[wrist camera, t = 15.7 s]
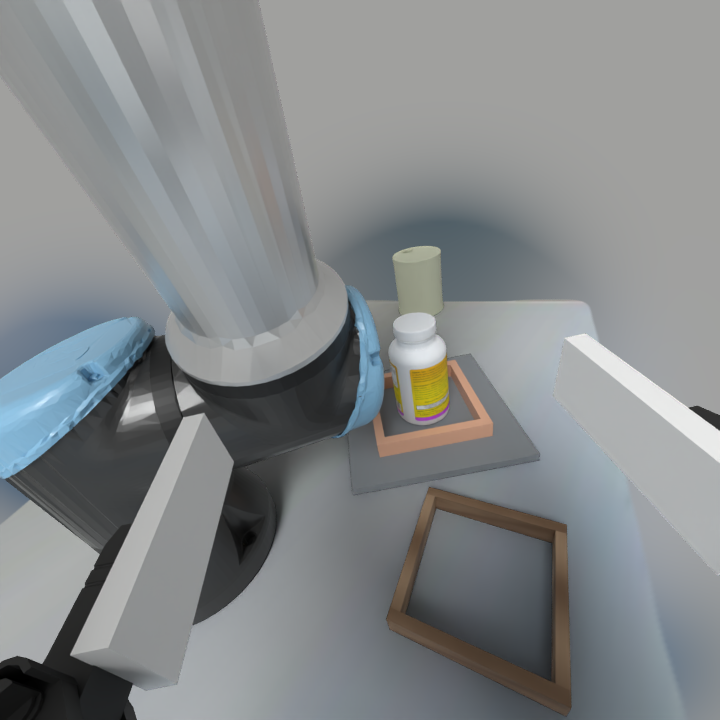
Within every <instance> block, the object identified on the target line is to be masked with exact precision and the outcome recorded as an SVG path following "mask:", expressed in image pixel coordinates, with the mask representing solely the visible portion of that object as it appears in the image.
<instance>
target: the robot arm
mask: <svg viewBox="0 0 720 720" xmlns="http://www.w3.org/2000/svg"><path fill="white" fill-rule="evenodd" d="M0 77H1V78H2V80H3V81H4V83H5V84H6V85H7V87H8V88H9V89H10V91H11V92H12V93H13V95H14V96H15V98H16V99H17V100H18V102H19V103H20V104H21V106H22V107H23V109H24V110H25V111H26V113H27V114H28V115H29V117H30V118H31V120H32V121H33V122H34V123H35V125H36V126H37V128H38V129H39V130H40V132H41V133H42V135H43V136H44V137H45V139H46V140H47V141H48V143H49V144H50V145H51V147H52V148H53V150H54V151H55V152H56V154H57V155H58V156H59V158H60V159H61V160H62V162H63V163H64V165H65V166H66V167H67V169H68V170H69V171H70V173H71V174H72V176H73V177H74V178H75V180H76V181H77V182H78V184H79V185H80V186H81V188H82V189H83V190H84V192H85V193H86V195H87V196H88V197H89V199H90V200H91V201H92V203H93V204H94V206H95V207H96V208H97V210H98V211H99V212H100V214H101V215H102V216H103V218H104V219H105V221H106V222H107V223H108V224H109V226H110V227H111V229H112V230H113V232H114V233H115V234H116V236H117V237H118V238H119V240H120V241H121V242H122V244H123V245H124V247H125V248H126V249H127V251H128V252H129V253H130V255H131V256H132V258H133V259H134V260H135V261H136V263H137V264H138V266H139V267H140V268H141V270H142V271H143V273H144V274H145V275H146V277H147V278H148V279H149V281H150V282H151V283H152V285H153V286H154V287H155V289H156V290H157V292H158V293H159V294H160V296H161V297H162V298H163V300H164V301H165V303H166V304H167V305H168V307H169V308H170V309H171V313H170V315H169V317H168V320H167V324H166V329H165V335H162V336H155V330H154V328H153V327H152V326H151V325H149V324H148V323H147V322H145V321H144V320H143V319H141V318H138V317H130V318H125V317H124V318H120V319H115V320H112V321H108V322H106V323H103V324H100V325H97V326H95V327H92V328H90V329H87V330H85V331H83V332H81V333H79V334H76V335H74V336H72V337H70V338H68V339H66V340H64V341H62V342H60V343H58V344H56V345H54V346H52V347H51V348H49V349H47V350H45V351H43V352H42V353H40V354H38V355H37V356H35V357H33V358H32V359H30V360H28V361H27V362H25V363H23V364H22V365H20V366H19V367H17V368H16V369H14V370H13V371H11V372H10V373H8V374H7V375H6V376H4V377H3V378H1V379H0V477H1V478H3V479H5V480H6V481H7V482H9V483H10V484H11V485H12V486H14V487H15V488H17V490H19V491H20V492H21V493H23V494H24V495H25V496H26V497H28V498H29V499H30V500H32V501H33V502H34V503H35V504H37V505H38V506H39V507H41V508H42V509H43V510H44V511H46V512H47V513H48V514H49V515H51V516H52V517H53V518H55V519H56V520H57V521H58V522H60V523H61V524H62V525H64V526H65V527H66V528H67V529H69V530H70V531H71V532H73V533H74V534H75V535H76V536H78V537H79V538H80V539H81V540H83V541H84V542H85V543H87V544H88V545H89V546H91V547H92V548H93V549H94V550H95V551H97V552H98V553H99V554H100V555H99V557H98V559H97V561H96V563H95V565H94V570H92V571H91V573H90V575H89V577H88V578H87V580H86V582H85V587H84V588H82V590H81V592H80V594H79V596H78V598H77V600H76V602H75V603H74V605H73V607H72V609H71V611H70V613H69V615H68V617H67V619H66V621H65V623H64V625H63V627H62V628H61V630H60V632H59V634H58V636H57V638H56V640H55V642H54V644H53V646H52V648H51V650H50V652H49V653H48V655H47V657H46V659H45V661H44V662H43V664H40V663H37V662H35V661H33V660H30V659H28V658H24V657H20V656H16V657H13V658H10V659H7V660H4V661H2V662H1V663H0V720H137V719H136V715H135V712H134V709H133V706H132V705H131V703H130V702H129V700H128V697H129V694H130V691H131V688H132V685H135V686H137V687H139V688H142V689H144V690H146V691H147V690H152V689H157V688H162V687H167V686H172V685H177V683H178V679H179V675H180V671H181V668H182V664H183V660H184V656H185V652H186V648H187V644H188V640H189V636H190V632H191V628H192V625H194V624H197V623H199V622H201V621H203V620H205V619H207V618H209V617H210V616H212V615H214V614H215V613H217V612H218V611H220V610H221V609H222V608H224V607H225V606H226V605H228V604H229V603H230V602H231V601H232V600H233V599H235V598H236V597H237V596H238V595H239V594H240V593H241V592H242V591H243V589H244V588H245V587H246V586H247V585H248V584H249V583H250V581H251V580H252V579H253V577H254V576H255V575H256V573H257V572H258V570H259V569H260V567H261V565H262V564H263V562H264V560H265V558H266V556H267V554H268V552H269V550H270V547H271V544H272V541H273V538H274V534H275V529H276V508H275V504H274V501H273V499H272V497H271V495H270V493H269V491H268V490H267V488H266V486H265V484H264V483H263V482H262V480H261V479H260V478H259V477H258V476H257V475H256V474H254V473H253V472H251V471H250V470H248V469H247V468H245V467H244V466H247V465H250V464H253V463H256V462H259V461H262V460H265V459H268V458H271V457H274V456H277V455H280V454H283V453H286V452H289V451H292V450H295V449H298V448H301V447H304V446H307V445H310V444H313V443H316V442H319V441H322V440H325V439H328V438H339V437H342V436H344V435H345V434H346V433H348V432H349V431H350V430H353V429H355V428H358V427H360V426H363V425H366V424H368V423H369V422H371V421H372V420H373V419H374V418H375V417H376V416H377V414H378V413H379V411H380V409H381V406H382V402H383V397H384V368H383V363H382V361H381V359H380V357H379V351H380V344H379V338H378V334H377V330H376V327H375V323H374V320H373V317H372V315H371V312H370V310H369V308H368V305H367V303H366V301H365V299H364V298H363V296H362V294H361V293H360V292H359V291H358V290H357V289H356V288H354V287H352V286H348V285H344V283H343V281H342V279H341V277H340V276H339V275H338V274H337V273H336V272H335V271H334V270H333V269H332V268H331V267H330V266H328V265H327V264H325V263H323V262H321V261H319V260H317V259H316V258H315V253H314V249H313V245H312V240H311V235H310V231H309V226H308V222H307V218H306V213H305V208H304V204H303V199H302V195H301V190H300V185H299V181H298V176H297V172H296V168H295V163H294V158H293V154H292V149H291V145H290V141H289V136H288V132H287V127H286V122H285V118H284V113H283V109H282V104H281V100H280V95H279V90H278V86H277V82H276V77H275V73H274V68H273V63H272V59H271V54H270V50H269V45H268V41H267V36H266V32H265V27H264V23H263V18H262V14H261V9H260V5H259V0H0ZM553 397H554V398H555V399H556V400H557V401H558V402H559V403H560V405H561V406H562V407H563V408H564V409H565V410H566V411H567V412H568V413H569V414H570V415H571V417H572V418H573V419H574V420H575V421H576V422H577V423H578V424H579V425H580V426H581V427H582V429H583V430H584V431H585V432H586V433H587V434H588V435H589V436H590V437H591V438H592V439H593V441H594V442H595V443H596V444H597V445H598V446H599V447H600V448H601V449H602V450H603V452H604V453H605V454H606V455H607V456H608V457H609V458H610V459H611V460H612V461H613V462H614V464H615V465H616V466H617V467H618V468H619V469H620V470H621V471H622V472H623V473H624V474H625V476H626V477H627V478H628V479H629V480H630V481H631V482H632V483H633V484H634V485H635V486H636V488H637V489H638V490H639V491H640V492H641V493H642V494H643V495H644V496H645V497H646V499H647V500H648V501H649V502H650V503H651V504H652V505H653V506H654V507H655V508H656V509H657V511H658V512H659V513H660V514H661V515H662V516H663V517H664V518H665V519H666V520H667V521H668V522H669V524H670V525H671V526H672V527H673V528H674V529H675V530H676V531H677V532H678V534H680V536H681V537H682V538H683V539H684V540H685V541H686V542H687V543H688V544H689V546H690V547H691V548H692V549H693V550H694V551H695V552H696V553H697V554H698V555H699V556H700V558H701V559H702V560H703V561H704V562H705V563H706V564H707V565H708V566H709V567H710V568H711V570H713V572H714V573H715V574H716V575H717V576H719V575H720V415H718V414H715V413H713V412H711V411H709V410H706V409H704V408H702V407H699V406H694V407H690V408H688V407H686V406H685V405H683V404H682V403H681V402H679V401H678V400H677V399H675V398H674V397H672V396H671V395H670V394H668V393H667V392H666V391H664V390H663V389H661V388H660V387H659V386H657V385H656V384H655V383H653V382H652V381H650V380H649V379H648V378H646V377H645V376H644V375H642V374H641V373H639V372H638V371H637V370H635V369H634V368H632V367H631V366H630V365H628V364H627V363H626V362H624V361H623V360H621V359H620V358H619V357H617V356H616V355H615V354H613V353H612V352H610V351H609V350H608V349H606V348H605V347H603V346H602V345H601V344H599V343H598V342H597V341H595V340H594V339H593V338H591V337H590V336H588V335H587V334H586V333H585V334H581V335H576V336H571V337H566V338H564V342H563V347H562V352H561V357H560V362H559V367H558V372H557V377H556V382H555V387H554V392H553Z"/></svg>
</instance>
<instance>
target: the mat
mask: <svg viewBox="0 0 720 720" xmlns="http://www.w3.org/2000/svg"><path fill="white" fill-rule="evenodd" d="M451 360H456V362H457V364H458V365H459V367H460V369H461V370H462V372H463V374H464V375H465V377H466V379H467V380H468V382H469V384H470V385H471V387H472V389H473V390H474V392H475V394H476V395H477V397H478V399H479V400H480V402H481V404H482V405H483V407H484V409H485V410H486V412H487V414H488V415H489V417H490V419H491V420H492V422H493V436H489V437H484V438H479V439H473V440H468V441H463V442H458V443H453V444H447V445H442V446H437V447H432V448H426V449H421V450H416V451H411V452H405V453H400V454H395V455H390V456H384V457H380V456H379V452H378V447H377V442H376V436H375V430H374V424H373V420H372V421H371V422H369V423H368V424H366V425H363V426H360V427H358V428H355V429H353V430H350V431H349V432H348V445H349V459H350V473H351V487H352V492H353V495H357V494H362V493H368V492H373V491H378V490H384V489H389V488H394V487H400V486H405V485H410V484H416V483H421V482H426V481H432V480H437V479H442V478H448V477H453V476H458V475H464V474H469V473H474V472H480V471H485V470H490V469H495V468H501V467H506V466H511V465H517V464H522V463H527V462H533V461H538V460H539V457H540V453H539V452H538V450H537V449H536V448H535V446H534V445H533V443H532V442H531V440H530V439H529V437H528V436H527V435H526V433H525V432H524V430H523V429H522V427H521V426H520V424H519V423H518V422H517V420H516V419H515V417H514V416H513V414H512V413H511V411H510V410H509V409H508V407H507V406H506V404H505V403H504V401H503V400H502V398H501V397H500V396H499V394H498V393H497V391H496V390H495V388H494V387H493V385H492V384H491V382H490V381H489V380H488V378H487V377H486V375H485V374H484V372H483V371H482V369H481V368H480V367H479V365H478V364H477V362H476V361H475V359H474V358H473V356H472V355H471V354H466V355H461V356H456V357H451V358H447V361H451ZM390 372H391V369H390V370H385V371H384V374H385V373H390ZM448 387H449V411H448V413H447V415H446V416H445V417H444V418H443V419H442V420H440V421H438V422H436V423H434V424H430V425H415V424H412V423H409V422H407V421H406V420H404V419H403V418H402V417H401V416H400V414H399V412H398V409H397V404H396V398H395V392H394V387H393V388H388V389H384V397H383V402H382V406H381V409H380V416H381V421H382V426H383V431H384V436H385V437H388V436H393V435H399V434H404V433H409V432H414V431H419V430H425V429H430V428H435V427H440V426H445V425H451V424H456V423H461V422H466V421H471V420H474V418H473V416H472V415H471V413H470V411H469V409H468V407H467V405H466V403H465V402H464V400H463V398H462V396H461V394H460V392H459V390H458V389H457V387H456V385H455V383H454V381H453V379H452V377H451V376H449V377H448Z"/></svg>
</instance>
